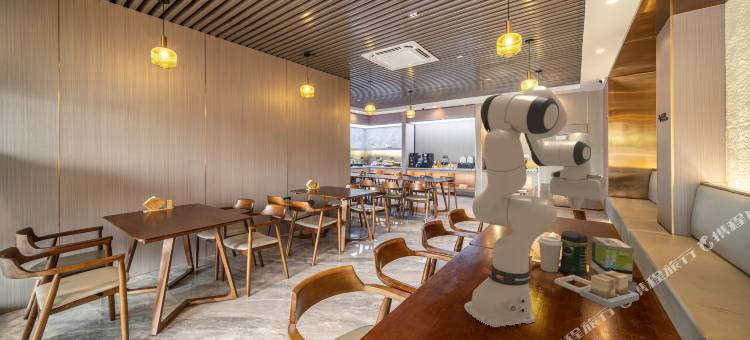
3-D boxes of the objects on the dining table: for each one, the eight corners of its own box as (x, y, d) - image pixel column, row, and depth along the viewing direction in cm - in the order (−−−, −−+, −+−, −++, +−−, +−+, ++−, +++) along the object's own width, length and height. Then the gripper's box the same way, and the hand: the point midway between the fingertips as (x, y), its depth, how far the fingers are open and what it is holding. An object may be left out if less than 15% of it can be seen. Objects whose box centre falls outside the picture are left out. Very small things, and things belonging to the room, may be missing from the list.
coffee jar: (590, 277, 126) (592, 234, 125) (576, 279, 124) (578, 235, 123) (569, 268, 135) (571, 229, 134) (556, 270, 133) (557, 230, 132)
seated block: (605, 303, 101) (606, 281, 100) (590, 297, 105) (591, 275, 105) (614, 301, 103) (615, 278, 102) (599, 295, 107) (600, 273, 107)
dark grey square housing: (624, 296, 108) (625, 286, 108) (604, 288, 115) (604, 278, 114) (636, 293, 111) (636, 283, 111) (615, 285, 117) (615, 276, 117)
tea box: (633, 283, 120) (634, 247, 119) (603, 279, 123) (605, 245, 122) (616, 269, 134) (617, 238, 133) (590, 267, 137) (591, 236, 137)
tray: (579, 296, 109) (580, 289, 108) (554, 285, 118) (554, 278, 118) (598, 291, 113) (599, 284, 113) (572, 280, 122) (573, 274, 122)
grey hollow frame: (610, 311, 98) (610, 302, 98) (580, 297, 107) (580, 289, 107) (638, 302, 104) (639, 294, 104) (607, 290, 113) (607, 282, 113)
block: (627, 297, 105) (628, 275, 105) (618, 300, 104) (619, 277, 103) (611, 291, 110) (612, 270, 110) (603, 293, 108) (604, 272, 108)
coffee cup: (566, 275, 127) (567, 241, 127) (544, 275, 128) (545, 241, 127) (553, 267, 137) (554, 235, 136) (533, 267, 137) (534, 235, 137)
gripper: (611, 175, 107) (609, 212, 108) (557, 172, 126) (556, 204, 127) (600, 175, 105) (598, 214, 105) (547, 172, 124) (546, 205, 124)
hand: (575, 208), depth 116 cm, fingers closed
